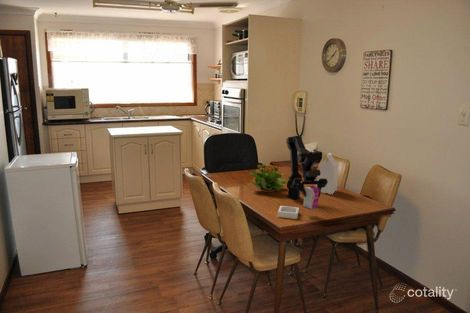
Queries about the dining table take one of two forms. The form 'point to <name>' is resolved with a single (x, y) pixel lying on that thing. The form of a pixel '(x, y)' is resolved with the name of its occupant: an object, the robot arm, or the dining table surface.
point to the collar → (288, 212)
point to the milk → (329, 174)
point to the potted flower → (268, 179)
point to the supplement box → (311, 197)
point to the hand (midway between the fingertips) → (312, 196)
